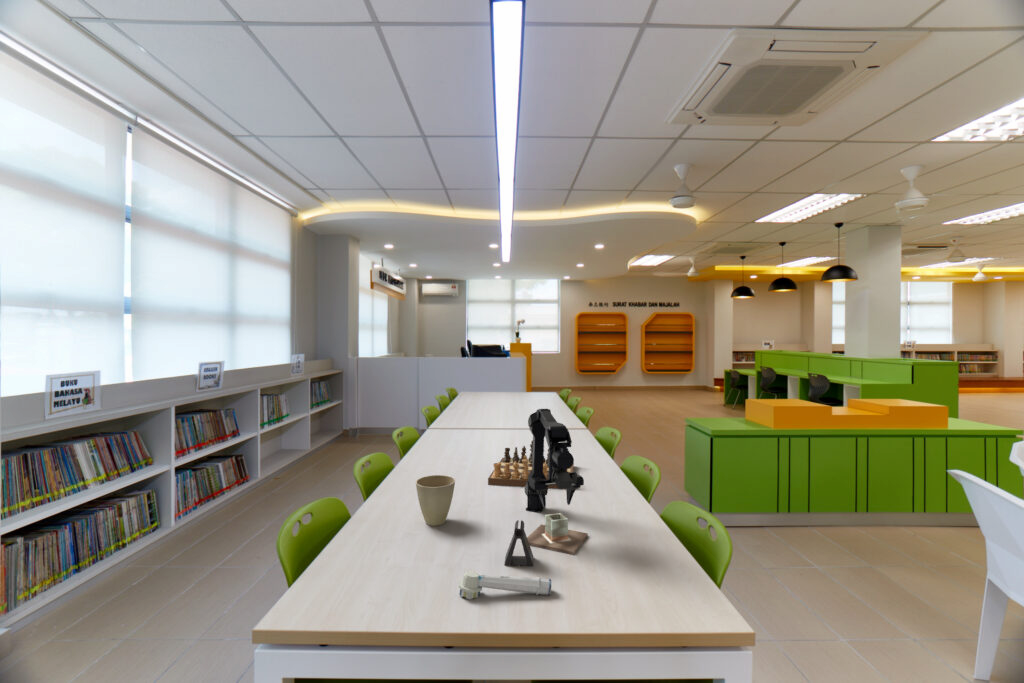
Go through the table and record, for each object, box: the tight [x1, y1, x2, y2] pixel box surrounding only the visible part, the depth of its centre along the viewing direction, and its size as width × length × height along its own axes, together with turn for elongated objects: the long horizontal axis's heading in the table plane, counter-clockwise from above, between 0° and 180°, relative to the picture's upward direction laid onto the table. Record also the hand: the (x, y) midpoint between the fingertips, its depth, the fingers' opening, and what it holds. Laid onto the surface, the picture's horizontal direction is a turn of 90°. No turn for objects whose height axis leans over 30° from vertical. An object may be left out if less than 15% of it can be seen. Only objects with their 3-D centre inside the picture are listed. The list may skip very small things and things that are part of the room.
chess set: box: [487, 439, 575, 490], centre depth 239 cm, size 40×40×15 cm
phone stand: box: [504, 519, 535, 567], centre depth 146 cm, size 9×6×12 cm, turn 86°
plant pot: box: [415, 474, 456, 527], centre depth 177 cm, size 15×15×16 cm
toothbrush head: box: [458, 570, 552, 600], centre depth 127 cm, size 5×7×25 cm
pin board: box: [527, 523, 589, 556], centre depth 162 cm, size 18×16×7 cm
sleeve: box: [544, 512, 569, 542], centre depth 162 cm, size 6×6×7 cm
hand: (556, 506), depth 162 cm, fingers open, 9 cm apart
